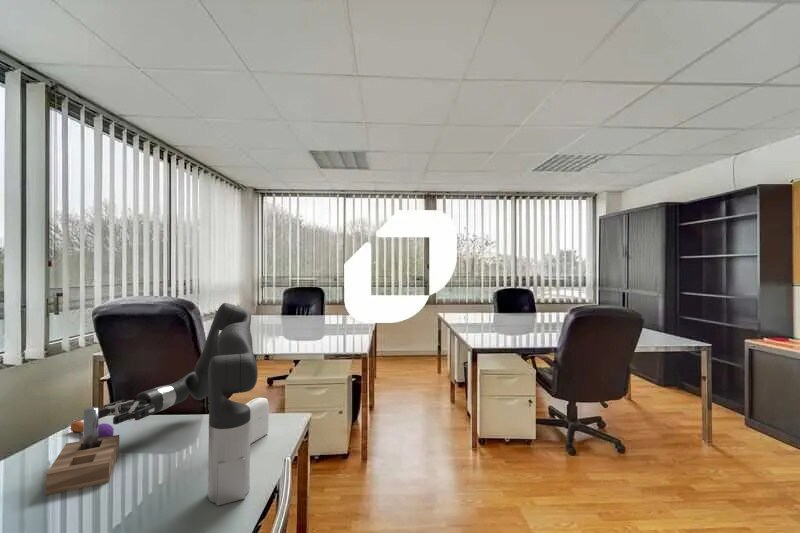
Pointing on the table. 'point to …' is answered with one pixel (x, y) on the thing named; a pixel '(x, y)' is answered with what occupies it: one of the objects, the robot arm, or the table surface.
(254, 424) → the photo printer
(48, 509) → the table surface
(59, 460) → the block
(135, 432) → the table surface
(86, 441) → the pin
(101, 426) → the maraca
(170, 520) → the table surface
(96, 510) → the table surface
